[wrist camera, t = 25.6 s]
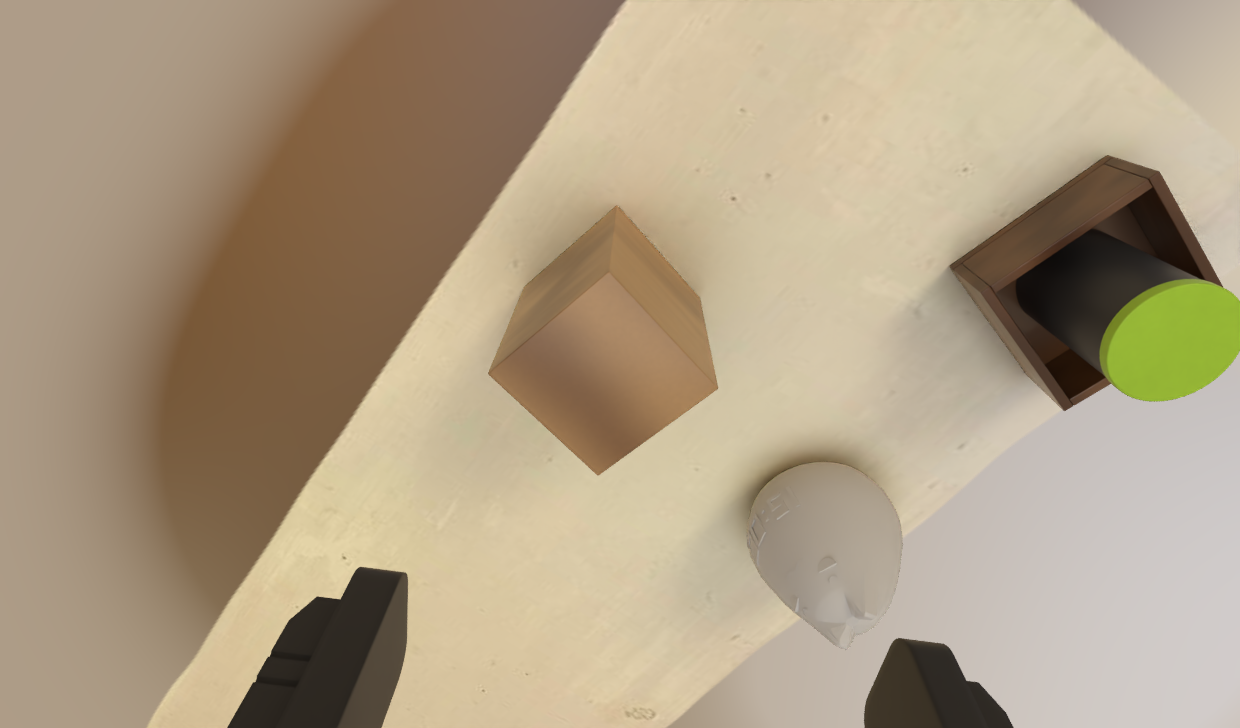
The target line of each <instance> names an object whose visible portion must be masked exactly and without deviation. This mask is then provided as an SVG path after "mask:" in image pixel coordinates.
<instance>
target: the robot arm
mask: <svg viewBox="0 0 1240 728" xmlns="http://www.w3.org/2000/svg"><path fill="white" fill-rule="evenodd" d="M407 602H408V577H407V574H406V573H404V572H396V571H388V570H381V569H373V568H365V567H359V568H358V569H357V570H356V571H355V573H354V574H353V576H352V578H351V580H350V582H349V584H348V586H347V588H346V590H345V592H344V594H343V596H342V598H341V600H340V599H332V598H324V597H316V598H315V599H314V600H313V601H311V602H310V603H309V604H308V605H307V606H305V607H304V608H303V609H302V610H301V611H300V612H298V613H297V614H296V615H295V616H294V617H293V618H291V619H290V620H289V621H288V623H287V625H286V626H285V628H284V630H283V632H282V633H281V635H280V637H279V639H278V640H277V642H276V644H275V646H274V647H273V649H272V651H271V655H270V657H268V658H267V659H266V661H265V663H264V665H263V666H262V668H261V670H260V672H259V673H258V675H257V679H256V682H255V683H254V682H253V684H252V686H251V687H250V689H249V691H248V693H247V694H246V696H245V698H244V699H243V701H242V703H241V705H240V706H239V708H238V710H237V712H236V713H235V715H234V717H233V719H232V720H231V722H230V724H229V726H228V727H227V728H381V727H382V724H383V722H384V719H385V716H386V713H387V711H388V708H389V705H390V702H391V699H392V697H393V694H394V691H395V688H396V686H397V683H398V680H399V677H400V673H401V670H402V666H403V662H404V657H405V651H406V644H407ZM864 724H865V728H1013V726H1012V724H1011V722H1010V720H1009V718H1008V716H1007V714H1006V712H1005V711H1004V710H1003V709H1002V708H1001V707H1000V706H999V705H998V704H997V703H996V701H995V700H994V699H993V698H992V697H991V696H990V695H989V694H988V693H987V691H986V690H985V689H984V688H983V687H982V686H981V685H980V684H979V683H977V682H970V681H966V679H965V677H964V675H963V673H962V671H961V669H960V667H959V665H958V663H957V661H956V659H955V657H954V655H953V653H952V651H951V650H950V648H949V647H947V646H946V645H945V644H940V643H932V642H925V641H917V640H909V639H902V638H898V639H896V640H894V641H893V643H892V644H891V646H890V648H889V651H888V653H887V655H886V658H885V660H884V662H883V664H882V666H881V668H880V671H879V673H878V675H877V677H876V680H875V682H874V685H873V686H872V688H871V691H870V693H869V695H868V698H867V701H866V705H865V713H864Z"/></svg>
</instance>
